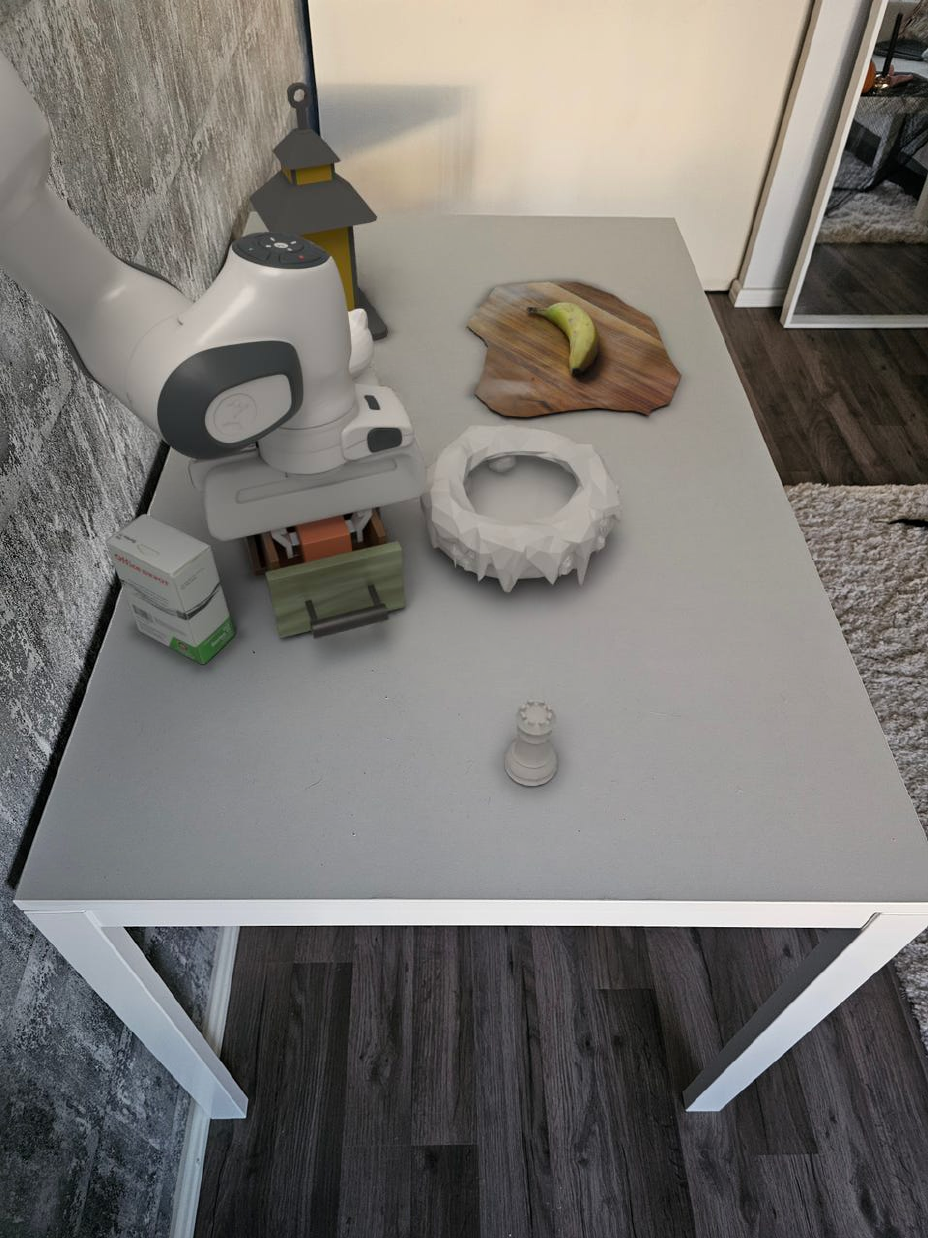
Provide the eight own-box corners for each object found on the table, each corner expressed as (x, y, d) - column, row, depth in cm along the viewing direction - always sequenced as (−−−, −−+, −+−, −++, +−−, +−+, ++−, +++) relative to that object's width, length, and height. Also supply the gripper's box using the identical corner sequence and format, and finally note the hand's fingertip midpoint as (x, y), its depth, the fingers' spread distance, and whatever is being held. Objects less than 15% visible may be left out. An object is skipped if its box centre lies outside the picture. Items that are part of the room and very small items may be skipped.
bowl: (385, 584, 92) (379, 509, 85) (459, 467, 105) (460, 393, 98) (580, 642, 87) (592, 567, 80) (634, 511, 100) (648, 437, 93)
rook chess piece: (561, 785, 77) (570, 730, 71) (509, 792, 76) (514, 738, 70) (549, 741, 80) (557, 685, 74) (499, 748, 79) (503, 692, 73)
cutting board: (700, 415, 112) (706, 389, 110) (482, 429, 110) (482, 402, 107) (632, 278, 136) (636, 253, 133) (451, 287, 134) (451, 262, 131)
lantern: (263, 308, 129) (223, 72, 107) (357, 289, 133) (337, 57, 111) (290, 358, 120) (253, 112, 98) (390, 336, 124) (376, 95, 102)
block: (308, 579, 87) (302, 544, 83) (298, 548, 89) (292, 513, 86) (354, 568, 88) (350, 533, 84) (342, 538, 91) (338, 503, 87)
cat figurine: (312, 448, 107) (296, 334, 96) (304, 389, 116) (288, 277, 104) (387, 440, 109) (380, 326, 97) (374, 382, 117) (366, 270, 106)
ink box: (238, 634, 88) (214, 544, 79) (202, 667, 85) (173, 578, 76) (172, 599, 91) (142, 508, 82) (135, 630, 88) (100, 539, 79)
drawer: (418, 638, 86) (415, 580, 81) (290, 671, 84) (277, 614, 78) (367, 520, 98) (362, 462, 92) (253, 546, 95) (240, 488, 89)
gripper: (188, 474, 73) (221, 593, 83) (431, 424, 78) (433, 543, 88) (178, 429, 77) (210, 548, 87) (409, 384, 81) (414, 503, 92)
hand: (324, 545), depth 87 cm, fingers closed on block, 4 cm apart
